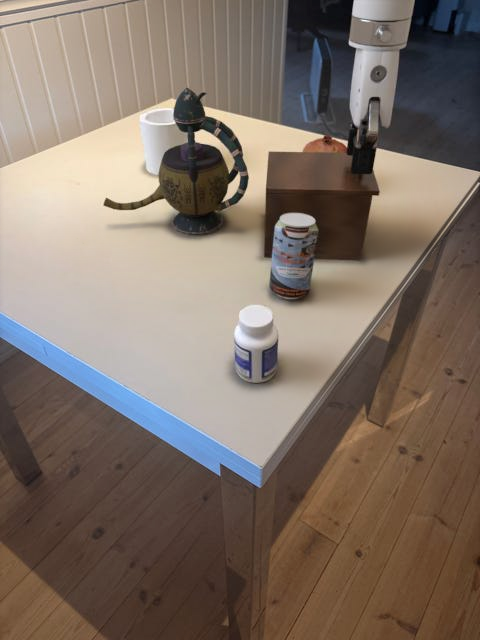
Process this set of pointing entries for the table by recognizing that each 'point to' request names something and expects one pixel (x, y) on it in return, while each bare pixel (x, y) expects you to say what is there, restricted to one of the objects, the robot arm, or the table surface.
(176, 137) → the mug
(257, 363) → the pill bottle
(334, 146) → the fruit
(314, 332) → the table surface
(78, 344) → the table surface
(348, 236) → the chest
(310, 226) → the beverage can
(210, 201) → the teapot
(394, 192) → the table surface
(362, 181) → the lid
